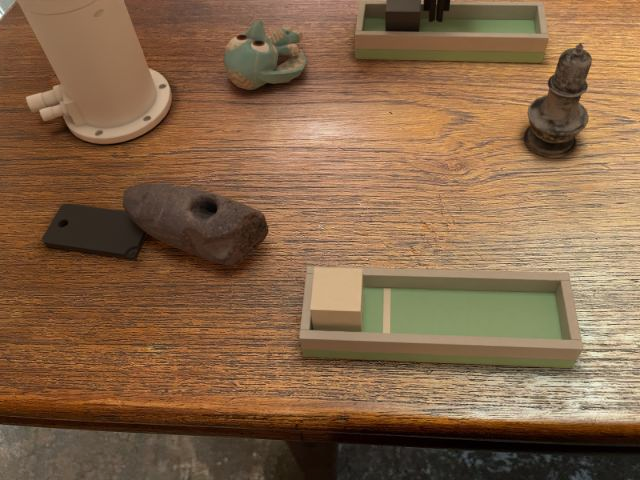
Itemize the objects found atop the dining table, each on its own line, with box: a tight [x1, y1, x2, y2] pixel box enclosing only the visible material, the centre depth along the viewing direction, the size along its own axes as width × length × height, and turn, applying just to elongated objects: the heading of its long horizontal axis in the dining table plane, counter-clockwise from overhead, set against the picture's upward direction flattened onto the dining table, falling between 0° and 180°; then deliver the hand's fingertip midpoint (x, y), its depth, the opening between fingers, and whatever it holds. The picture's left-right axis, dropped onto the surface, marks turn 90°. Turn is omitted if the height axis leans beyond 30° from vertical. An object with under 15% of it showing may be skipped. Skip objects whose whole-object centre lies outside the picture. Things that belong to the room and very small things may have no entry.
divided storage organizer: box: [298, 265, 584, 369], centre depth 51 cm, size 22×7×4 cm, turn 85°
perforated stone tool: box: [122, 183, 269, 267], centre depth 57 cm, size 15×5×7 cm, turn 65°
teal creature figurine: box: [223, 19, 308, 91], centre depth 72 cm, size 11×7×12 cm
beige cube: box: [310, 267, 363, 332], centre depth 51 cm, size 4×4×4 cm
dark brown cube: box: [385, 0, 422, 32], centre depth 73 cm, size 4×4×4 cm
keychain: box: [41, 203, 148, 260], centre depth 61 cm, size 5×1×10 cm
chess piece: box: [523, 42, 593, 159], centre depth 60 cm, size 6×6×12 cm
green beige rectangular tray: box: [354, 0, 550, 64], centre depth 74 cm, size 22×7×4 cm, turn 83°
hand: (435, 14), depth 72 cm, fingers closed
